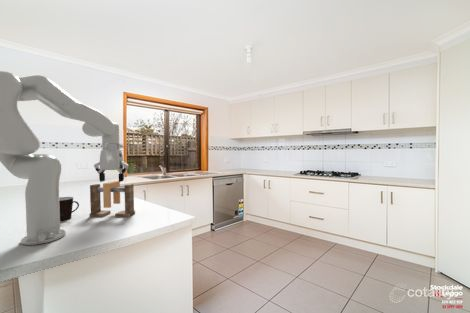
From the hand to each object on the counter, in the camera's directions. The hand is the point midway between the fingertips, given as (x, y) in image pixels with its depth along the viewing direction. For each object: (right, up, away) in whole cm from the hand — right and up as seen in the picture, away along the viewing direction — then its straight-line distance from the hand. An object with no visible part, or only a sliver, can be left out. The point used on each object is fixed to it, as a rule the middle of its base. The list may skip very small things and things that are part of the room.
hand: (111, 181), depth 111 cm
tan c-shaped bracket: (0, -12, 0) cm, 12 cm away
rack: (0, -17, +1) cm, 17 cm away
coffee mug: (-19, -18, -6) cm, 27 cm away
